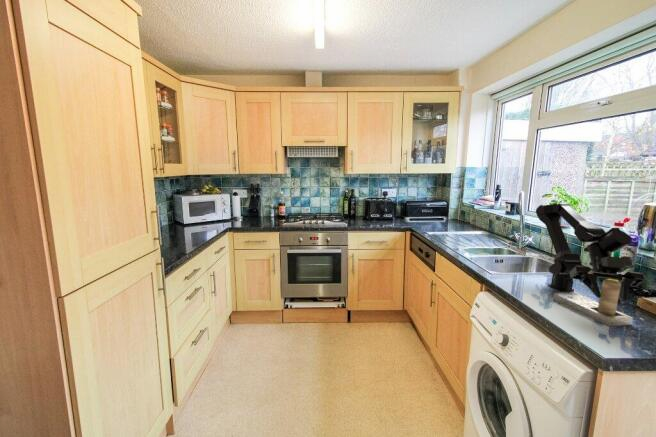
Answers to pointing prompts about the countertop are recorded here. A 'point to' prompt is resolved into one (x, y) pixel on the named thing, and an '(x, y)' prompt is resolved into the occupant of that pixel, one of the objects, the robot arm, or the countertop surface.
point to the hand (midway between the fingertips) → (611, 299)
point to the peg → (609, 297)
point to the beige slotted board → (591, 309)
